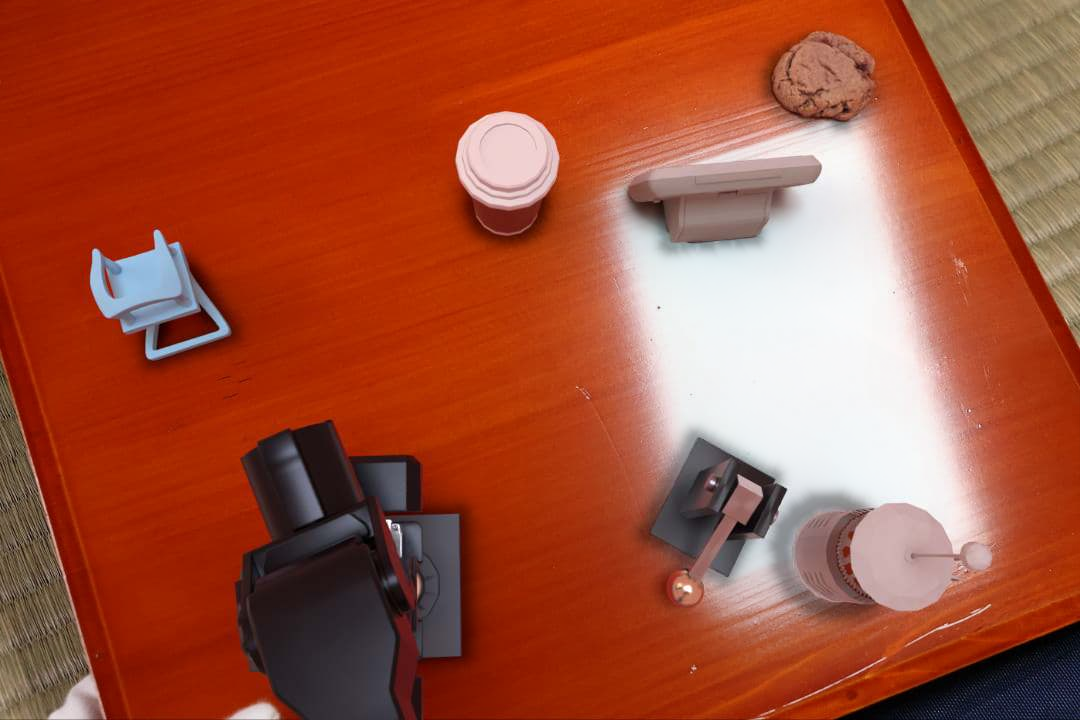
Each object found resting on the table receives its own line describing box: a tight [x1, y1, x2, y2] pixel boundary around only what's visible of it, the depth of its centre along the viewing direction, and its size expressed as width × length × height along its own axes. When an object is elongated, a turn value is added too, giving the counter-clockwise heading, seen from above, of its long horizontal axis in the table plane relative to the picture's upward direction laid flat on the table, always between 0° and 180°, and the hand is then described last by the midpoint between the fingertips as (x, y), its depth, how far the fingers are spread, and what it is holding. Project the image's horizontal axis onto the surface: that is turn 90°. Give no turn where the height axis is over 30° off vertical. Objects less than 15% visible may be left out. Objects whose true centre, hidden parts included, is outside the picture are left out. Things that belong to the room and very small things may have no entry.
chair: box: [89, 229, 232, 362], centre depth 76 cm, size 8×8×12 cm
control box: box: [385, 513, 463, 659], centre depth 75 cm, size 12×10×4 cm
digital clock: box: [627, 154, 823, 244], centre depth 81 cm, size 16×9×11 cm, turn 85°
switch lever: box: [666, 475, 763, 609], centre depth 71 cm, size 12×3×3 cm, turn 151°
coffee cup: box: [454, 110, 561, 237], centre depth 79 cm, size 9×9×12 cm
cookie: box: [770, 30, 876, 121], centre depth 89 cm, size 10×11×3 cm
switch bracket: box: [648, 436, 788, 578], centre depth 74 cm, size 10×8×12 cm
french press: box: [791, 502, 993, 612], centre depth 67 cm, size 10×12×25 cm
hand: (391, 588), depth 67 cm, fingers closed
